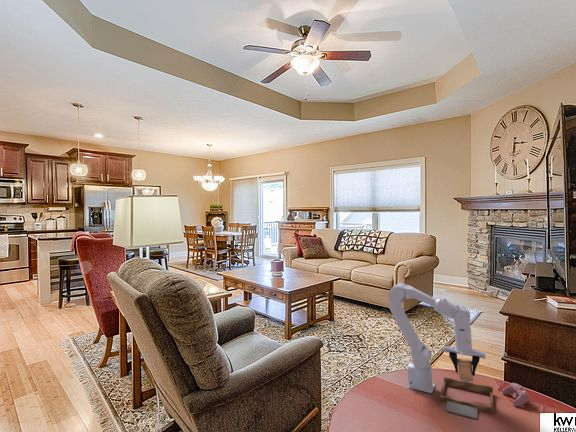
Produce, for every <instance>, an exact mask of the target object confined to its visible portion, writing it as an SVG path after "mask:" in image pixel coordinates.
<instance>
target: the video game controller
mask: <svg viewBox="0 0 576 432" xmlns="http://www.w3.org/2000/svg"><path fill="white" fill-rule="evenodd" d="M501 393H502V394H503V395H505V396H508V395H511V394H512V395H511V396H512V398H514V400H513V402H512V404H513V406H514V407H519V408H520V407H522V406H524V405H525V404H526V403H528V402H529V400H530V394H529V393H528V392H527V390H526V389H525V387H524V386H522V385H521V384H518V383H515V382H511V383H510V384H509V385H507V386H505V387H504V388H503V389H502V391H501Z"/></svg>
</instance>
